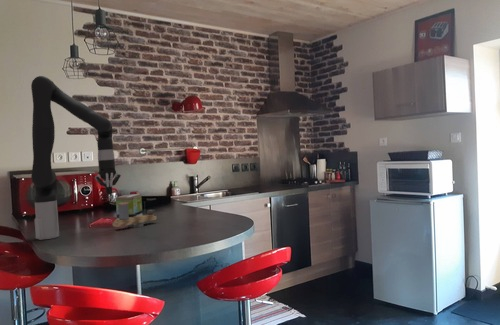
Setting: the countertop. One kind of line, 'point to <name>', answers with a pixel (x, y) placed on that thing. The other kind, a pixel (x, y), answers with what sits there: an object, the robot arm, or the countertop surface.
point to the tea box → (130, 204)
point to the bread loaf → (136, 220)
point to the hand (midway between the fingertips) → (109, 194)
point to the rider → (123, 211)
